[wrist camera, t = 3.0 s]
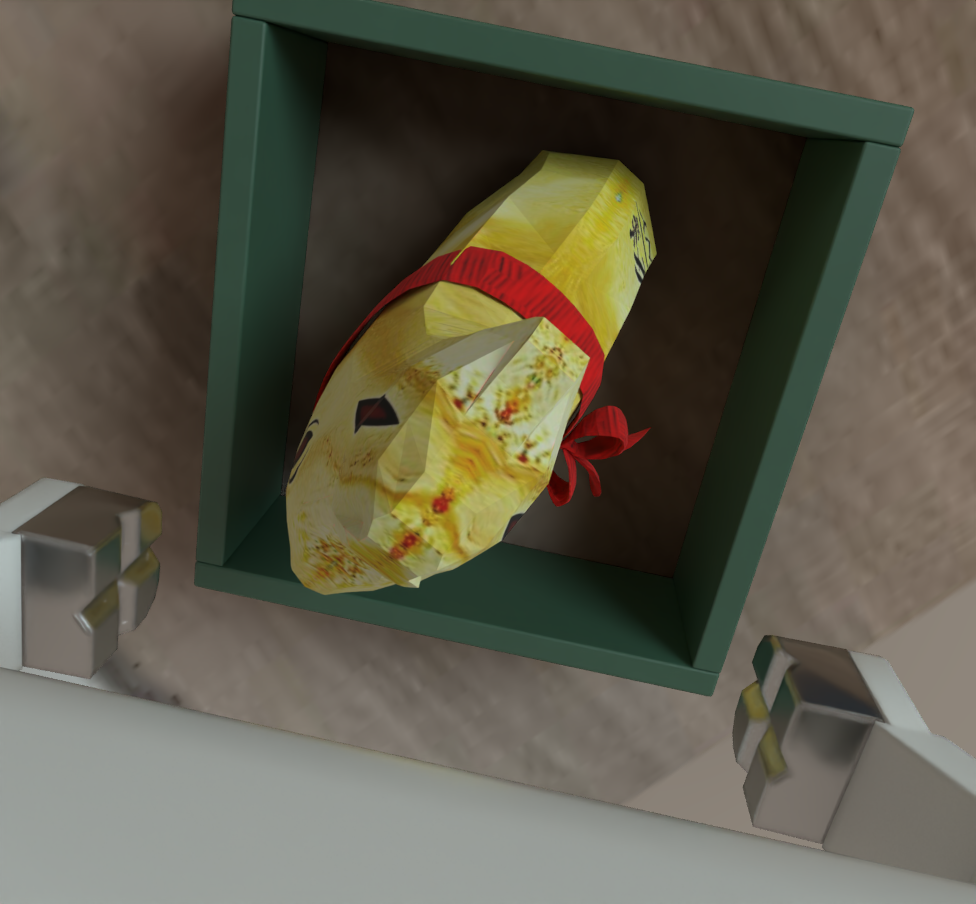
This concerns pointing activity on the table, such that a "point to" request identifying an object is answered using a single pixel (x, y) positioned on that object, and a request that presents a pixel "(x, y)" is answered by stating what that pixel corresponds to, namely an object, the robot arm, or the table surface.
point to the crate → (503, 567)
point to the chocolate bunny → (473, 382)
